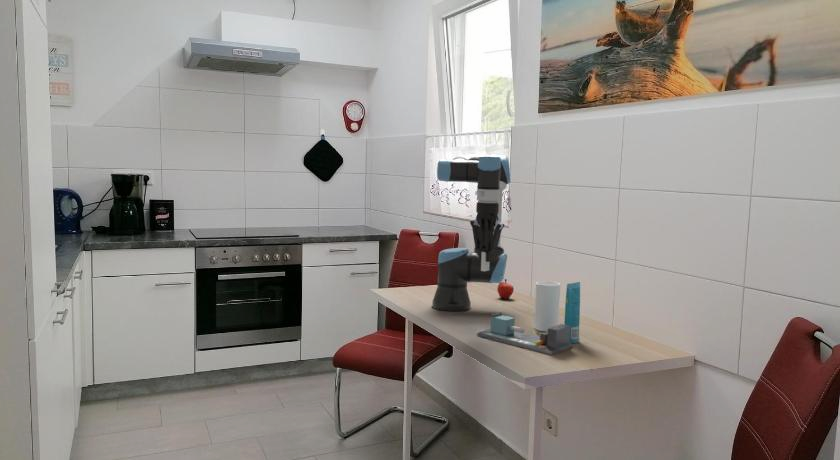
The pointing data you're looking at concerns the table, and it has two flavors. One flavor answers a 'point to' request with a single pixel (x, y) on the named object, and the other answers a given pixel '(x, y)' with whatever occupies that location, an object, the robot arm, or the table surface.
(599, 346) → the table surface
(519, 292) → the table surface
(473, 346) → the table surface
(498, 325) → the block
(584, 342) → the table surface
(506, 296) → the apple
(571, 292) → the tube
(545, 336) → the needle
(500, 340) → the rail base
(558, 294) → the cup
